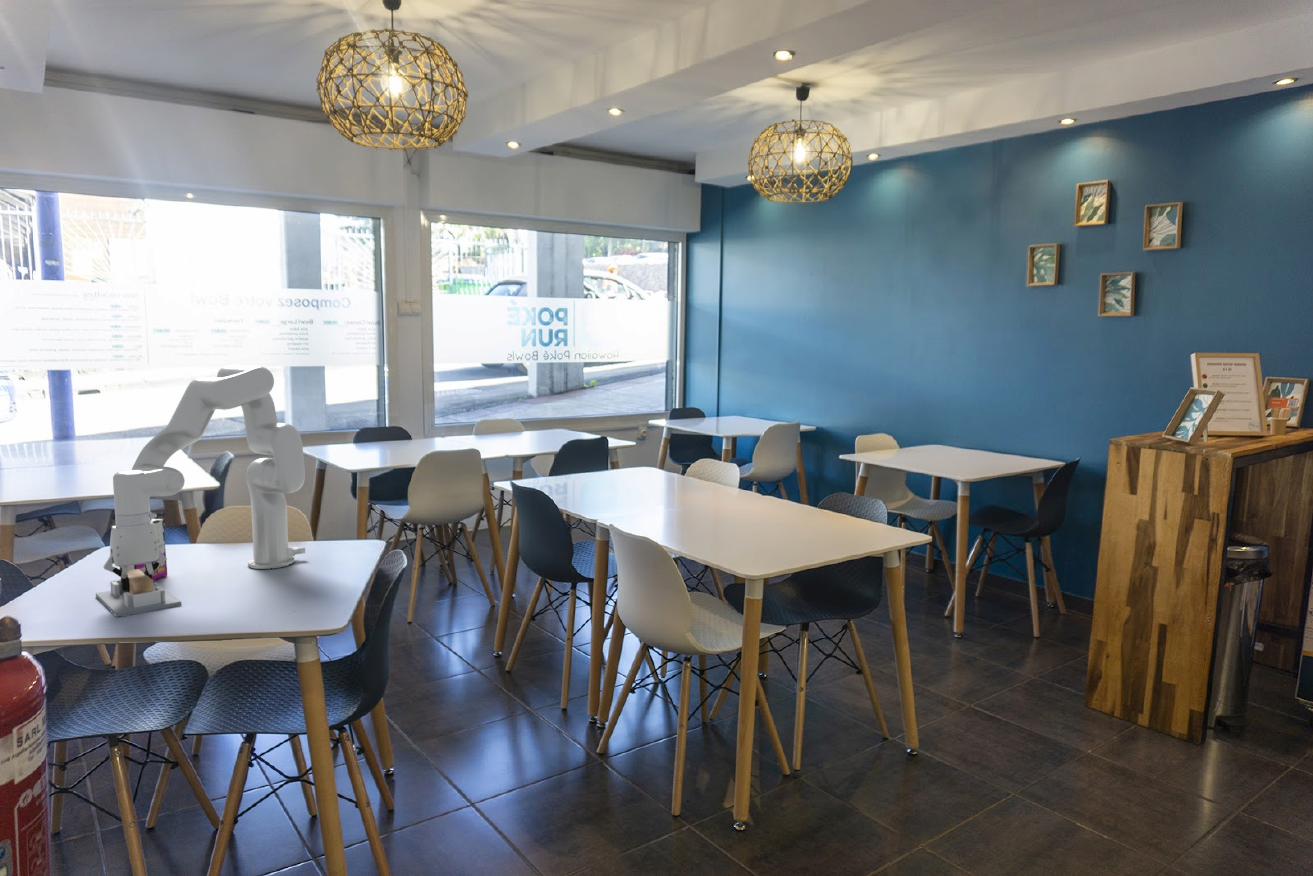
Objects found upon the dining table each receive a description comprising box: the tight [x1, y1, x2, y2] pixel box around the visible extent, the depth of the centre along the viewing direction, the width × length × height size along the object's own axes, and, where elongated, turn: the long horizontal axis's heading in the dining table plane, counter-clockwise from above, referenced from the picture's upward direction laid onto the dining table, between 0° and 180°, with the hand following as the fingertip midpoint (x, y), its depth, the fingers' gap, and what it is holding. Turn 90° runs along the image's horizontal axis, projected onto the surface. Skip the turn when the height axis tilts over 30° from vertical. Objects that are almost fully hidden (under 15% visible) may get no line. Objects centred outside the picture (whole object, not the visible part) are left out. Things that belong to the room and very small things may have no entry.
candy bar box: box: [128, 518, 168, 582], centre depth 234 cm, size 11×5×16 cm, turn 168°
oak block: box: [127, 569, 154, 595], centre depth 217 cm, size 4×14×4 cm, turn 44°
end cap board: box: [95, 579, 182, 618], centre depth 217 cm, size 14×22×4 cm, turn 44°
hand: (137, 589), depth 217 cm, fingers closed on oak block, 3 cm apart
